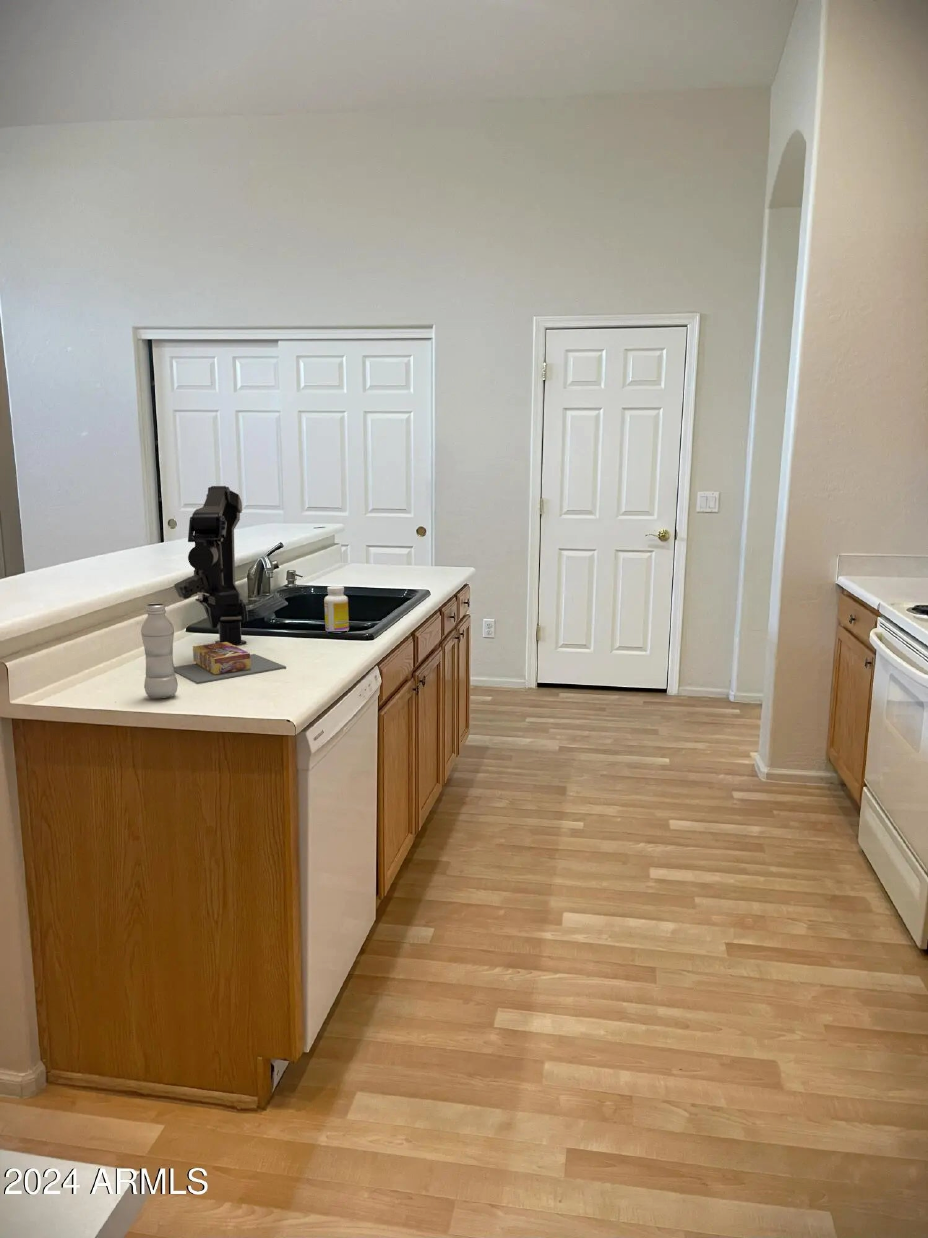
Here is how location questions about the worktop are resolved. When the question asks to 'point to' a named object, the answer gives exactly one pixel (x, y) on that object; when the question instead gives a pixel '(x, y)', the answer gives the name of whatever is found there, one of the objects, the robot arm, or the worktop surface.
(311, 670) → the worktop surface
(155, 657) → the plastic bottle
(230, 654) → the candy box
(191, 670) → the mat
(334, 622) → the supplement bottle
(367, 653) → the worktop surface
